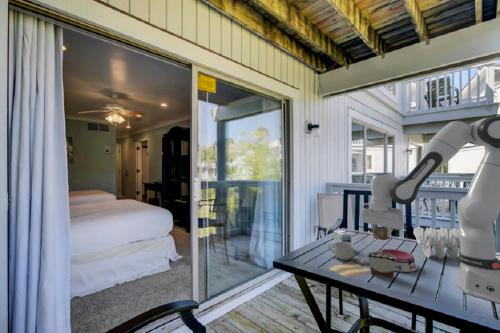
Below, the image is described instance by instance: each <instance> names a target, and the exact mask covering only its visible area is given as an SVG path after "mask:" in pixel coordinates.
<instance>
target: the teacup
mask: <svg viewBox="0 0 500 333" xmlns="http://www.w3.org/2000/svg"><path fill="white" fill-rule="evenodd" d="M331 246H332V248H331ZM354 247H355V246H354V245H353V243H352V244H351V243H347V242H336V243H334V242H333V243H332V242H331V243H329V244H328V249H329V250H330V252H332V253H333V254H334V255H335V257H336V258H337V259H339V260H341V261H349V260H351V259H352V258H354V257H353V256H354V253H355V252H354V249H355V248H354Z"/></svg>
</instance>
